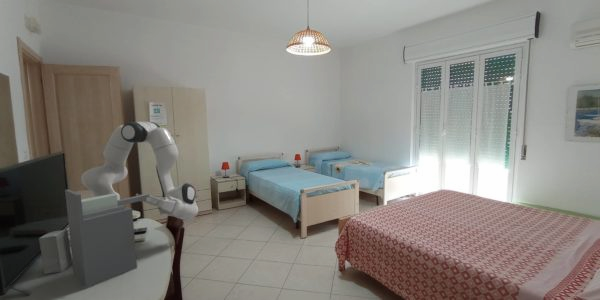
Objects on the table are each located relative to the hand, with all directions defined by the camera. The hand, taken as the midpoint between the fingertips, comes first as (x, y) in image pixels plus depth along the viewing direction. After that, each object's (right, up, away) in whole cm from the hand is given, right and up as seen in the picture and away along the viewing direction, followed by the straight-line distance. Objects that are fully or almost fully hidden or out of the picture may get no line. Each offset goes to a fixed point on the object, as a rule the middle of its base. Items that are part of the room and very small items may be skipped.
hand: (141, 197), depth 127 cm
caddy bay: (-9, -30, -10) cm, 33 cm away
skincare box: (-32, -30, -6) cm, 44 cm away
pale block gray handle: (-6, -3, -7) cm, 10 cm away
